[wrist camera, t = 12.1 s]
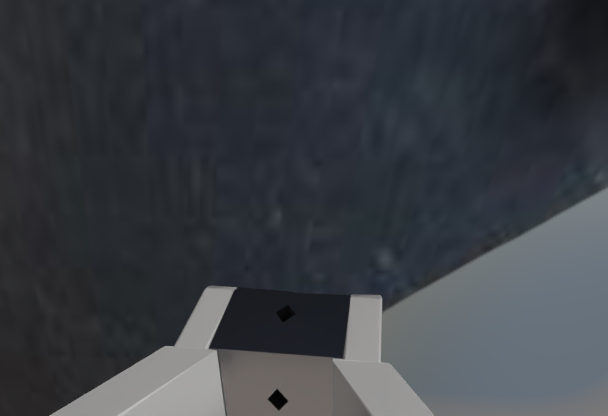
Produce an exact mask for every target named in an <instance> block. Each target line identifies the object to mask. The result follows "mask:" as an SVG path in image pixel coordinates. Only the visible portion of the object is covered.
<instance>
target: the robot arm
mask: <svg viewBox="0 0 608 416" xmlns="http://www.w3.org/2000/svg"><path fill="white" fill-rule="evenodd" d="M381 324H382V297H381V296H380V295H353V294H352V295H335V294H315V293H295V292H289V291H277V290H265V289H252V288H240V287H238V288H236V287H224V286H209V287H207V288H206V289H205V290H204V291H203V293H202V295H201V297H200V299H199V301H198V303H197V304H196V306H195V308H194V310H193V312H192V314H191V316H190V317H189V319H188V321H187V323H186V325H185V327H184V329H183V330H182V332H181V334H180V336H179V338H178V340H177V342H176V343H175V345H174V347H173V346H165V347H163V348H161V349H160V350H158V351H156V352H155V353H153V354H151V355H150V356H148V357H146V358H145V359H143V360H141V361H140V362H138V363H136V364H135V365H133V366H131V367H130V368H128V369H126V370H125V371H123V372H121V373H120V374H118V375H116V376H115V377H113V378H111V379H110V380H108V381H106V382H105V383H103V384H101V385H100V386H98V387H97V388H95V389H93V390H92V391H90V392H88V393H87V394H85V395H83V396H82V397H80V398H78V399H77V400H75V401H73V402H72V403H70V404H68V405H67V406H65V407H63V408H62V409H60V410H58V411H57V412H55V413H53V414H52V415H50V416H434V415H433V413H432V412H431V411H430V410H429V409H428V407H427V406H426V405H425V404H424V403H423V402H422V400H421V399H420V398H419V397H418V396H417V395H416V393H415V392H414V391H413V390H412V389H411V388H410V386H409V385H408V384H407V383H406V382H405V380H404V379H403V378H402V377H401V376H400V375H399V373H398V372H397V371H396V370H395V369H394V368H393V367H392V365H391V364H390V363H382V362H381Z"/></svg>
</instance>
